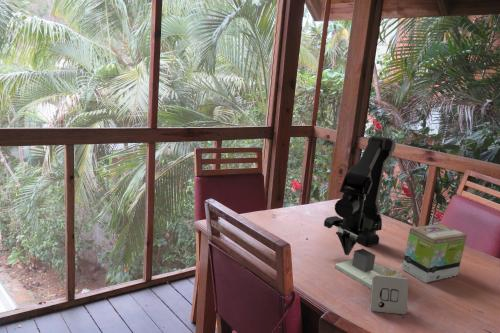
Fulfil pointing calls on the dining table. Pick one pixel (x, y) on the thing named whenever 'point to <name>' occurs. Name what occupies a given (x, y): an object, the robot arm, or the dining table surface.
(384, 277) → the electrical switch
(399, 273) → the board
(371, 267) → the plug
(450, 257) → the tea box
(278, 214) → the dining table surface
